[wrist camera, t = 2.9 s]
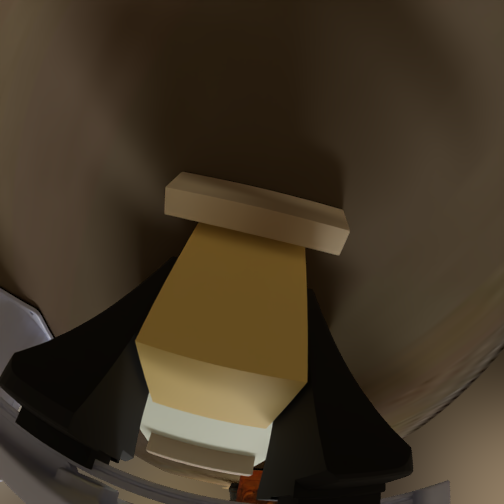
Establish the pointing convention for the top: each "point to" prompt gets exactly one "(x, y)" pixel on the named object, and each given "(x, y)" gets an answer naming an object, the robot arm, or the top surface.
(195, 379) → the yellow block
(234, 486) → the beer stein
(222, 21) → the top surface
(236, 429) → the lid
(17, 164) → the top surface
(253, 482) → the vessel
